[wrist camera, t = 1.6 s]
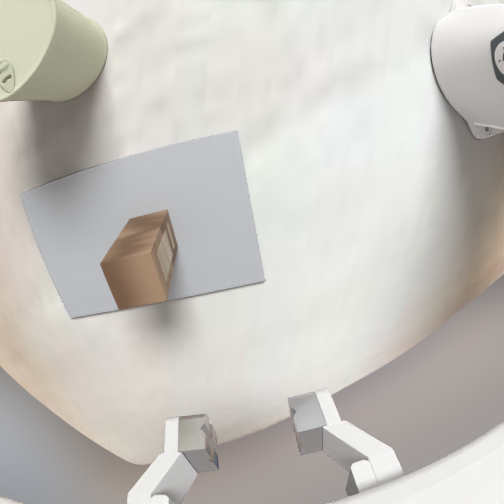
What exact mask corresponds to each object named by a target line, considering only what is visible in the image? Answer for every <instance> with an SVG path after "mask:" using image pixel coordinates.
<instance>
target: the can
mask: <svg viewBox="0 0 504 504" xmlns="http://www.w3.org/2000/svg"><path fill="white" fill-rule="evenodd" d="M106 56H107V39H106V36H105V33H104V31H103V29H102V28H101V26H100V25H99V24H98V23H97V22H95V21H94V20H92V19H90V18H88V17H85V16H84V15H82V14H81V13H79V12H78V11H76V10H75V9H73V8H72V7H70V6H69V5H67V4H66V3H64V2H63V1H61V0H0V102H6V101H26V100H47V101H50V102H64V101H68V100H71V99H73V98H75V97H77V96H79V95H80V94H82V93H83V92H85V91H86V90H87V89H88V88H89V87H90V86H91V85H92V84H93V83H94V82H95V80H96V79H97V77H98V76H99V74H100V73H101V71H102V68H103V66H104V64H105V60H106Z"/></svg>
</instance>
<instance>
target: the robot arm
mask: <svg viewBox="0 0 504 504" xmlns="http://www.w3.org/2000/svg"><path fill="white" fill-rule="evenodd" d="M431 54H432V62H433V67H434V71H435V75H436V78H437V81H438V83H439V86H440V88H441V90H442V92H443V94H444V95H445V97H446V99H447V100H448V102H449V103H450V104H451V106H452V107H453V108H454V109H455V110H456V111H457V112H458V113H459V114H460V115H461V116H462V117H463V118H464V119H465V120H466V122H467V124H468V126H469V128H470V130H471V132H472V134H473V136H474V137H475V138H477V139H486V138H489V137H491V136H494V135H497V134H500V133H503V132H504V4H490V5H480V6H475V5H473V4H472V3H470V2H468V1H466V0H454V1H453V3H452V6H451V9H450V12H449V13H448V14H447V15H446V16H444V17H443V18H442V19H441V20H440V21H439V22H438V23H437V25H436V27H435V29H434V32H433V36H432V43H431ZM288 404H289V408H290V415H291V421H292V425H293V429H294V432H295V433H296V439H297V444H298V447H299V451H300V454H301V455H304V454H309V453H313V452H317V451H321V450H323V452H325V453H326V454H327V455H328V456H329V457H331V458H332V459H333V460H334V461H336V462H337V463H338V464H340V465H341V466H342V467H343V468H345V469H346V470H347V471H349V477H348V482H347V486H346V492H347V495H348V497H345V498H342V499H338V500H335V501H331V502H328V503H325V504H504V421H503V422H502V423H500V424H499V425H497V426H496V427H494V428H493V429H491V430H490V431H488V432H487V433H485V434H483V435H482V436H480V437H479V438H477V439H475V440H474V441H472V442H470V443H469V444H467V445H465V446H464V447H462V448H460V449H458V450H456V451H454V452H453V453H451V454H449V455H447V456H445V457H443V458H441V459H439V460H437V461H435V462H433V463H431V464H429V465H427V466H425V467H423V468H421V469H419V470H416V471H414V472H412V473H410V474H408V475H405V474H404V472H403V470H402V468H401V466H400V463H399V461H398V459H397V457H396V455H395V453H394V451H393V449H392V448H390V447H389V446H387V445H386V444H384V443H382V442H380V441H378V440H377V439H375V438H374V437H372V436H370V435H368V434H367V433H365V432H363V431H362V430H360V429H359V428H357V427H355V426H354V425H352V424H351V423H349V422H347V421H345V420H344V421H341V419H340V416H339V414H338V411H337V409H336V407H335V404H334V401H333V399H332V396H331V394H330V391H329V390H328V389H327V388H326V389H322V390H319V391H315V392H310V393H306V394H302V395H298V396H295V397H291V398H288ZM216 447H217V439H216V434H215V431H214V428H213V426H212V425H211V424H209V418H208V416H207V414H200V415H191V416H181V417H170V418H167V420H166V424H165V438H164V453H160V454H159V455H158V457H157V458H156V459H155V460H154V462H153V463H152V464H151V466H150V467H149V468H148V469H147V471H146V472H145V473H144V474H143V476H142V477H141V478H140V479H139V481H138V482H137V483H136V484H135V486H134V487H133V488H132V489H131V490H130V492H129V493H128V500H127V504H181V502H182V500H183V498H184V497H185V495H186V493H187V492H188V490H189V488H190V486H191V485H192V483H193V481H194V479H195V478H196V476H197V474H198V472H207V471H215V470H219V465H218V455H217V454H216V452H215V449H216ZM0 504H25V503H21V502H18V501H15V500H12V499H9V498H6V497H1V496H0Z"/></svg>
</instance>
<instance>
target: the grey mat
mask: <svg viewBox="0 0 504 504" xmlns="http://www.w3.org/2000/svg"><path fill="white" fill-rule="evenodd" d="M20 197H21V200H22V203H23V206H24V209H25V212H26V215H27V218H28V221H29V224H30V227H31V229H32V232H33V235H34V237H35V240H36V243H37V245H38V248H39V250H40V253H41V255H42V258H43V260H44V263H45V265H46V267H47V270H48V272H49V274H50V276H51V279H52V281H53V283H54V285H55V288H56V290H57V292H58V294H59V296H60V298H61V300H62V302H63V304H64V306H65V308H66V310H67V312H68V314H69V316H70V318H75V317H80V316H86V315H92V314H98V313H104V312H109V311H115V310H119V309H118V307H117V304H116V302H115V300H114V297H113V295H112V293H111V290H110V288H109V286H108V283H107V281H106V278H105V276H104V273H103V271H102V268H101V266H100V263H101V261H102V260H103V258H104V257H105V255H106V253H107V252H108V250H109V249H110V247H111V246H112V244H113V243H114V241H115V240H116V238H117V237H118V235H119V234H120V232H121V231H122V229H123V228H124V227H125V225H126V224H127V222H128V221H129V219H131V218H135V217H139V216H143V215H147V214H151V213H155V212H159V211H163V210H167V209H168V212H169V216H170V220H171V223H172V227H173V231H174V234H175V238H176V241H177V245H178V249H177V253H176V258H175V263H174V268H173V273H172V278H171V283H170V288H169V293H168V298H167V301H169V300H174V299H179V298H184V297H189V296H194V295H199V294H204V293H209V292H214V291H219V290H224V289H229V288H233V287H238V286H243V285H248V284H252V283H257V282H262V281H265V279H264V273H263V268H262V262H261V257H260V251H259V245H258V240H257V234H256V229H255V223H254V218H253V212H252V207H251V201H250V196H249V190H248V185H247V180H246V174H245V169H244V163H243V158H242V153H241V147H240V142H239V136H238V131H232V132H227V133H222V134H217V135H212V136H207V137H202V138H198V139H193V140H189V141H185V142H181V143H176V144H172V145H168V146H164V147H160V148H157V149H153V150H149V151H145V152H142V153H138V154H135V155H131V156H128V157H124V158H121V159H117V160H114V161H111V162H108V163H104V164H101V165H98V166H95V167H92V168H89V169H86V170H83V171H80V172H77V173H74V174H71V175H69V176H66V177H63V178H60V179H58V180H55V181H52V182H49V183H47V184H44V185H42V186H39V187H37V188H34V189H32V190H29V191H27V192H24V193H22V194H20ZM147 305H148V304H147ZM136 307H137V306H136Z"/></svg>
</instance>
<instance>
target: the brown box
mask: <svg viewBox="0 0 504 504" xmlns="http://www.w3.org/2000/svg"><path fill="white" fill-rule="evenodd" d="M177 249H178V245H177V241H176V238H175V234H174V231H173V227H172V223H171V220H170V216H169V212H168V209H167V210H163V211H159V212H155V213H151V214H147V215H143V216H139V217H135V218H131V219H129V221H128V222H127V224H126V225H125V227H124V228H123V229H122V231H121V232H120V234H119V235H118V237H117V238H116V240H115V241H114V243H113V244H112V246H111V247H110V249H109V250H108V252H107V253H106V255H105V257H104V258H103V260H102V261H101V263H100V266H101V268H102V271H103V273H104V276H105V278H106V281H107V283H108V286H109V288H110V290H111V293H112V295H113V297H114V300H115V302H116V304H117V307H118V309H119V310H120V309H126V308H131V307H136V306H142V305H147V304H153V303H158V302H163V301H167V298H168V293H169V288H170V283H171V278H172V273H173V268H174V263H175V258H176V253H177Z"/></svg>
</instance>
